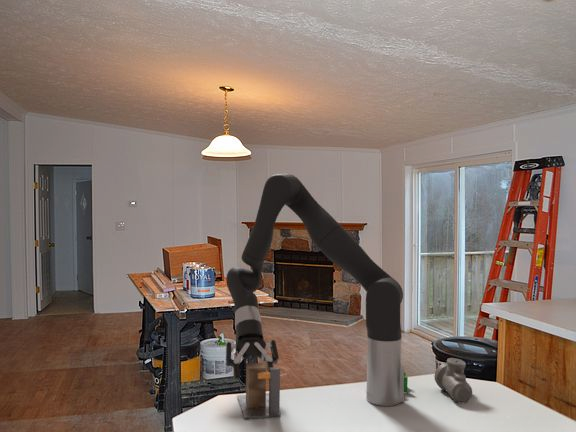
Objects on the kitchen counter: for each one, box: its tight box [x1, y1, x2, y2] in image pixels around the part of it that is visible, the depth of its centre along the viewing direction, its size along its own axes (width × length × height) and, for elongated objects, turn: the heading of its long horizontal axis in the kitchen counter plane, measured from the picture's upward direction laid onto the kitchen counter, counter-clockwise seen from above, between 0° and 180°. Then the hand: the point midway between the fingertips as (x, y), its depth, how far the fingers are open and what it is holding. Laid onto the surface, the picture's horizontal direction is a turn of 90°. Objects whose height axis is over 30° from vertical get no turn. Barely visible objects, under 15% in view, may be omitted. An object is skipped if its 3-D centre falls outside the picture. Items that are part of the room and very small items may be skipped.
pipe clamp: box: [404, 371, 409, 393], centre depth 146 cm, size 11×4×5 cm, turn 174°
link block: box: [245, 362, 267, 407], centre depth 132 cm, size 4×4×10 cm
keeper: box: [236, 366, 281, 421], centre depth 131 cm, size 9×15×12 cm, turn 13°
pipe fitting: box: [433, 357, 473, 403], centre depth 140 cm, size 12×8×10 cm
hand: (254, 378), depth 133 cm, fingers open, 8 cm apart
